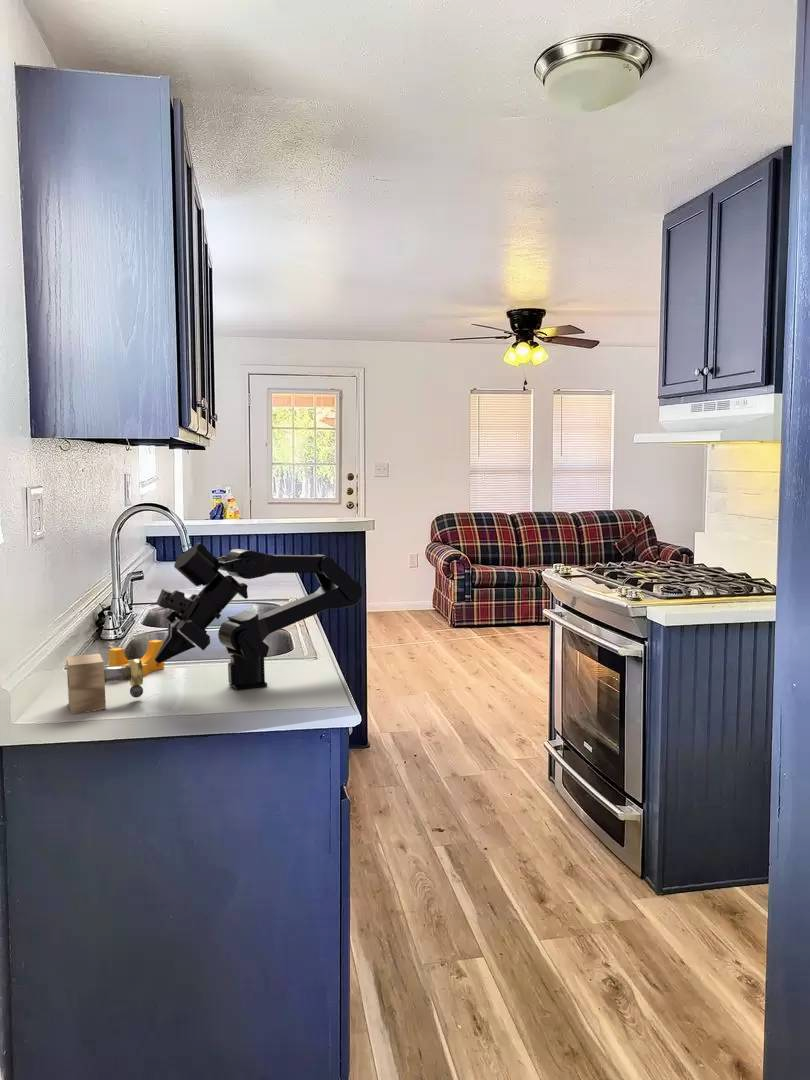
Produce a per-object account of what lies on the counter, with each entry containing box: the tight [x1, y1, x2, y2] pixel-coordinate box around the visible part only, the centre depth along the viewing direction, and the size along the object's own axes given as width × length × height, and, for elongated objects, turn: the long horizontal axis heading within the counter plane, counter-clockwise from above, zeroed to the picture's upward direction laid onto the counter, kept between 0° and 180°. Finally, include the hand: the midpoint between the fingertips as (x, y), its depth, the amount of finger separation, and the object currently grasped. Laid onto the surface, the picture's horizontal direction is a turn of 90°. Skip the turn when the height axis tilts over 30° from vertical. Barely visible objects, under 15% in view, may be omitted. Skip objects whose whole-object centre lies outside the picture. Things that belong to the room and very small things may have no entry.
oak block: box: [66, 653, 107, 715], centre depth 157 cm, size 6×8×9 cm
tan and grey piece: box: [104, 658, 144, 699], centre depth 159 cm, size 10×5×7 cm, turn 115°
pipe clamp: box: [108, 639, 165, 677], centre depth 182 cm, size 12×4×6 cm, turn 143°
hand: (156, 661), depth 162 cm, fingers closed
